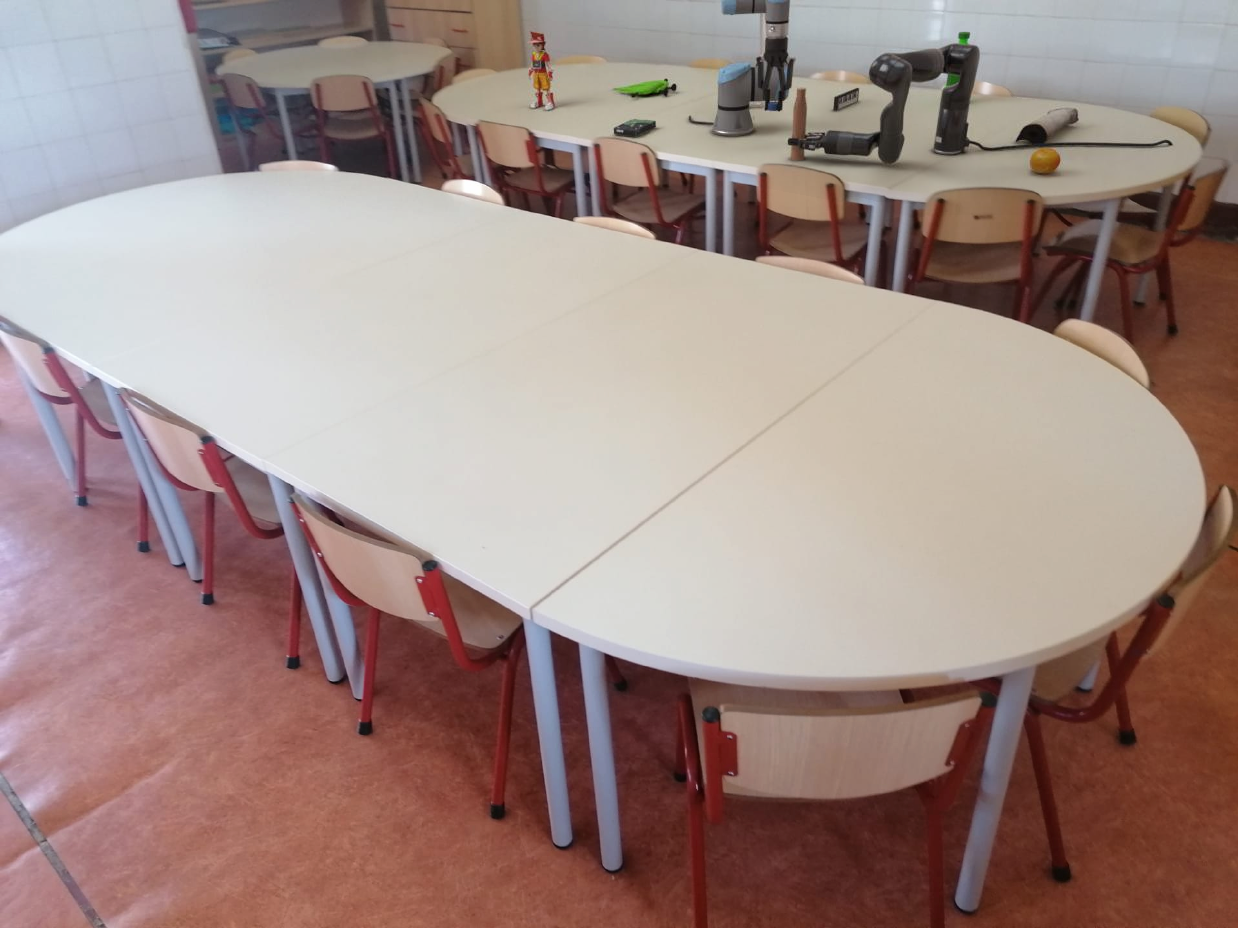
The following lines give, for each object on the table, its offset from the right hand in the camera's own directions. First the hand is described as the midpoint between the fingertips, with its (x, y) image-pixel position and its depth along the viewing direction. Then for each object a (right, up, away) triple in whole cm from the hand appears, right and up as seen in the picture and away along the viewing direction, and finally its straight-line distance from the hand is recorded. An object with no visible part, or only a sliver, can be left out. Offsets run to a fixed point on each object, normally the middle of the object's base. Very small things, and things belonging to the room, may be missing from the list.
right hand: (790, 139), depth 302 cm
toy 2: (-48, +55, +95) cm, 120 cm away
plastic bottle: (+75, +34, +53) cm, 98 cm away
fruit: (+74, -19, -23) cm, 80 cm away
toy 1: (-91, +43, +81) cm, 129 cm away
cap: (-4, +16, +9) cm, 18 cm away
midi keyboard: (+33, +34, +57) cm, 74 cm away
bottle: (+3, -6, +3) cm, 7 cm away
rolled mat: (+92, +6, +10) cm, 92 cm away
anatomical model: (-6, +39, +67) cm, 78 cm away
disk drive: (-52, +18, +41) cm, 69 cm away
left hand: (-4, +14, +10) cm, 18 cm away
